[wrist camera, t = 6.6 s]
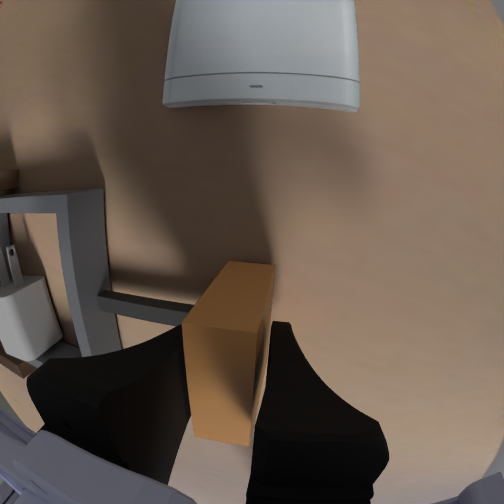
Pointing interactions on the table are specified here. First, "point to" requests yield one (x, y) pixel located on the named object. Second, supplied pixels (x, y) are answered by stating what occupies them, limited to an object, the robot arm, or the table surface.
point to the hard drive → (263, 54)
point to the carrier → (162, 314)
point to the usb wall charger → (25, 312)
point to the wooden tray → (14, 364)
